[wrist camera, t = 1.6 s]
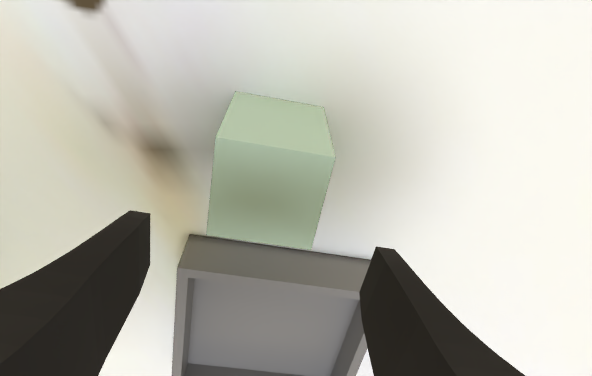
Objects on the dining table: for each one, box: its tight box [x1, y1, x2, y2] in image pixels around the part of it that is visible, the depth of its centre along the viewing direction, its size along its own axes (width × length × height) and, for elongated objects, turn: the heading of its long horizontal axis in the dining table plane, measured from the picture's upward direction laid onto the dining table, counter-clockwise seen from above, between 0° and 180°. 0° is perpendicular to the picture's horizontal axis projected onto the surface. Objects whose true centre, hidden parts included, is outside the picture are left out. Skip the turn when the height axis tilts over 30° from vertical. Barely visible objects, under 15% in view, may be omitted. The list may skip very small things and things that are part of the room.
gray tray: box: [172, 235, 371, 376], centre depth 26 cm, size 12×12×3 cm
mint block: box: [206, 91, 336, 250], centre depth 18 cm, size 4×4×6 cm
